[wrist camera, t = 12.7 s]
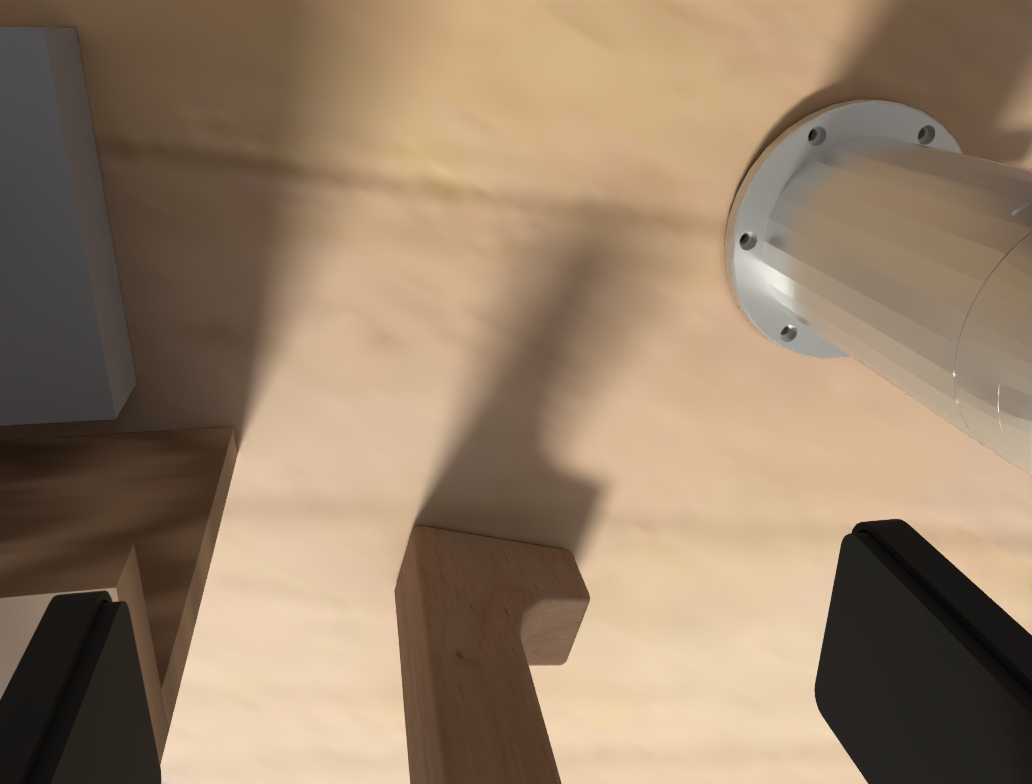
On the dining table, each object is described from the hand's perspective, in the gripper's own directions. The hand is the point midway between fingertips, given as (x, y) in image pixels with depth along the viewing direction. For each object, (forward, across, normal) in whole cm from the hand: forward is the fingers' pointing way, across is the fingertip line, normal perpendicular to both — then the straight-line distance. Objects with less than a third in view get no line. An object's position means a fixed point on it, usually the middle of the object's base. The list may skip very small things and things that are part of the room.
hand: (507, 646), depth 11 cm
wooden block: (+31, -4, +20) cm, 37 cm away
